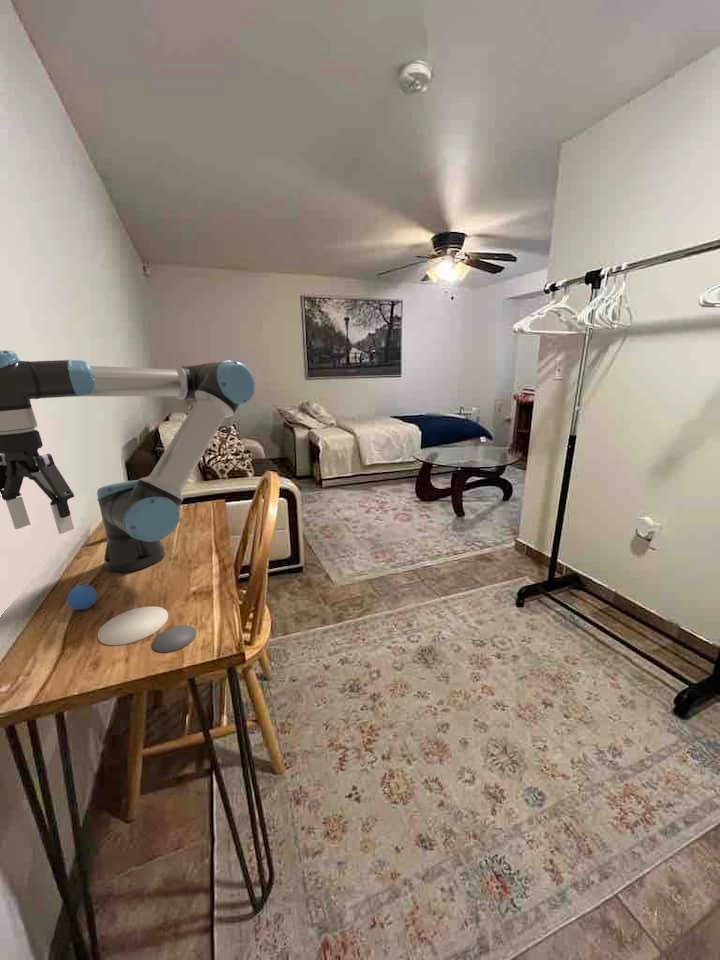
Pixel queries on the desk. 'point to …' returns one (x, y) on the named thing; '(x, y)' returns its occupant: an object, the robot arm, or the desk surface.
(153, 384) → the robot arm
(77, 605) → the ball
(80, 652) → the desk surface
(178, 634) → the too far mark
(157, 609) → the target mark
